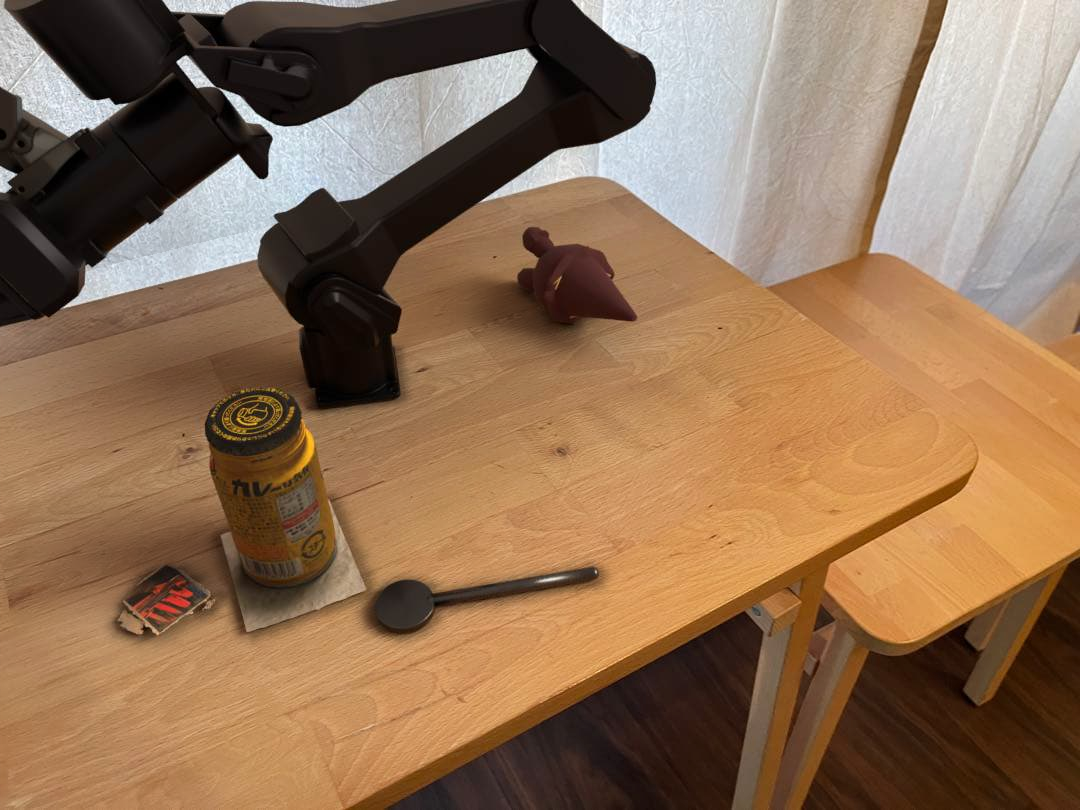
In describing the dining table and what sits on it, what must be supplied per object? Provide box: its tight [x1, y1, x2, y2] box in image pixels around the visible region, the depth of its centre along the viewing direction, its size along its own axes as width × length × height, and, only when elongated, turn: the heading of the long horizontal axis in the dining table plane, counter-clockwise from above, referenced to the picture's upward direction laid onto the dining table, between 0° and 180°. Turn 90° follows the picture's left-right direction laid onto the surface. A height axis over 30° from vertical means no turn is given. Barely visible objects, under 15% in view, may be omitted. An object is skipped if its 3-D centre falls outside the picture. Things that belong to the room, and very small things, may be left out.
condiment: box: [204, 386, 367, 633], centre depth 52 cm, size 7×8×12 cm
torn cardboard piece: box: [117, 563, 220, 636], centre depth 53 cm, size 5×5×1 cm
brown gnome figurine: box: [516, 226, 638, 325], centre depth 75 cm, size 7×7×15 cm
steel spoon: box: [374, 566, 600, 635], centre depth 54 cm, size 14×4×1 cm, turn 102°
